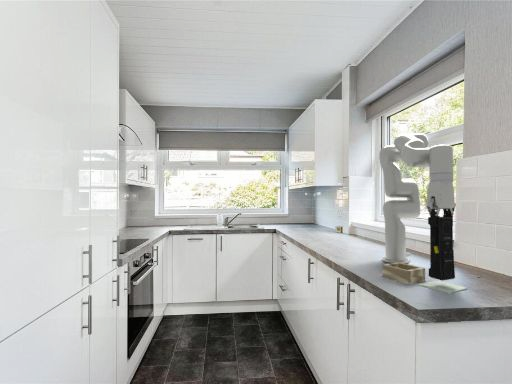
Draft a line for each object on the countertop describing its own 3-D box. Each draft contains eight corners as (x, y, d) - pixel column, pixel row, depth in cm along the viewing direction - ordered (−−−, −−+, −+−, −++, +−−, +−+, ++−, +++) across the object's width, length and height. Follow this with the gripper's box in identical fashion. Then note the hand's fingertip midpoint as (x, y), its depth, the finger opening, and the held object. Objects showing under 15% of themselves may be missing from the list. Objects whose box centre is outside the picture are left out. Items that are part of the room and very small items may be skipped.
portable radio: (441, 281, 104) (440, 211, 104) (426, 277, 109) (425, 210, 110) (456, 279, 107) (455, 210, 107) (440, 275, 112) (440, 210, 113)
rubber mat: (436, 281, 116) (436, 280, 116) (467, 289, 106) (467, 288, 106) (419, 285, 111) (419, 284, 111) (449, 293, 101) (449, 292, 101)
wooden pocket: (398, 273, 127) (398, 262, 127) (425, 280, 116) (425, 268, 116) (382, 276, 123) (382, 264, 123) (408, 284, 112) (408, 271, 112)
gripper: (444, 179, 116) (445, 224, 116) (416, 178, 108) (417, 226, 108) (465, 178, 109) (466, 226, 109) (436, 177, 102) (437, 228, 101)
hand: (441, 225), depth 109 cm, fingers closed on portable radio, 7 cm apart
